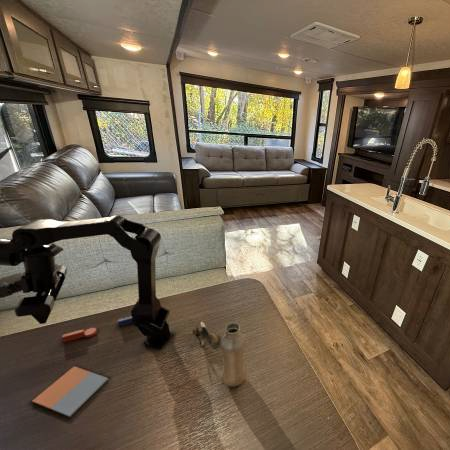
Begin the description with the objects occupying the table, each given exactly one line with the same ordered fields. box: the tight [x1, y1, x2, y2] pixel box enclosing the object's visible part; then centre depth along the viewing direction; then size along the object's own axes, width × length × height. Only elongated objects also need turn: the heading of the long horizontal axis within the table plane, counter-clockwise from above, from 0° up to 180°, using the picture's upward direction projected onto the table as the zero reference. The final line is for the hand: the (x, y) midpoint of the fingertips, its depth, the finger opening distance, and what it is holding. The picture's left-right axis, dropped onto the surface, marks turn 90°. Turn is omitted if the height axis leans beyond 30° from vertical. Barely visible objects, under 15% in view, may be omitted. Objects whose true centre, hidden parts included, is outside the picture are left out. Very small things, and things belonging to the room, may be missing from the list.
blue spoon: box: [117, 315, 134, 327], centre depth 88 cm, size 8×3×2 cm, turn 121°
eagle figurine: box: [187, 321, 221, 348], centre depth 82 cm, size 8×7×9 cm
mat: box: [31, 365, 109, 418], centre depth 66 cm, size 12×10×1 cm
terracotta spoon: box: [61, 327, 98, 343], centre depth 80 cm, size 8×3×2 cm, turn 121°
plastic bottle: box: [219, 322, 247, 388], centre depth 68 cm, size 6×7×20 cm
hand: (48, 311), depth 71 cm, fingers open, 9 cm apart
